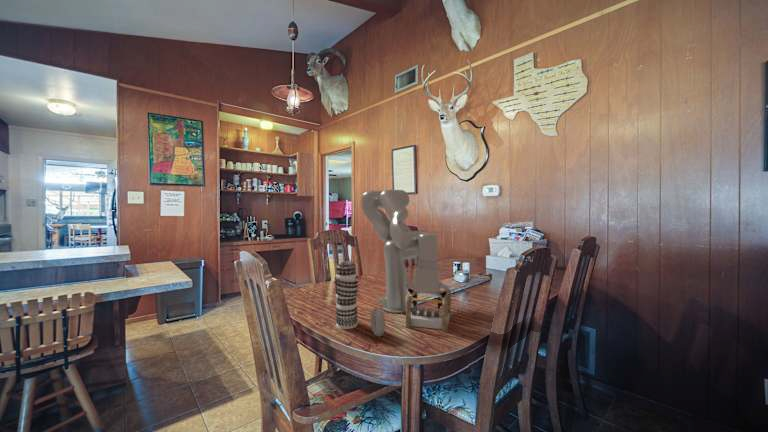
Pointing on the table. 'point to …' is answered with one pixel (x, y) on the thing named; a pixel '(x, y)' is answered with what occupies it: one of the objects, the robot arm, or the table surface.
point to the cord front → (426, 300)
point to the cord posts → (445, 310)
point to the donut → (377, 322)
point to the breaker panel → (427, 318)
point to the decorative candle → (346, 295)
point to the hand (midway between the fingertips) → (427, 306)
